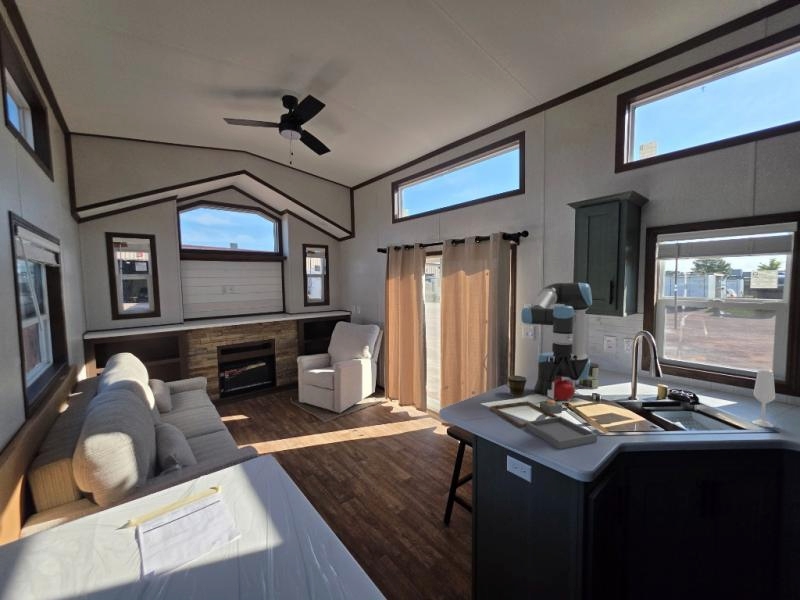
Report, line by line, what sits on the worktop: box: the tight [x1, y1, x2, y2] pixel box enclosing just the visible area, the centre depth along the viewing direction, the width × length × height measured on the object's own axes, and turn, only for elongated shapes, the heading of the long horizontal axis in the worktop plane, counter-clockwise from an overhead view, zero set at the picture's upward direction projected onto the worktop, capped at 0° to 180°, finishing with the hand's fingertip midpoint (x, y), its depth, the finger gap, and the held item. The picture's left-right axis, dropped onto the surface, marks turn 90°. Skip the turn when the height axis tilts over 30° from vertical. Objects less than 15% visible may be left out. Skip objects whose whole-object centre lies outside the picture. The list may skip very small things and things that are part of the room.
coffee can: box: [578, 362, 600, 390], centre depth 203 cm, size 10×10×14 cm
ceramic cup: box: [504, 375, 527, 398], centre depth 186 cm, size 13×10×10 cm
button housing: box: [539, 400, 563, 415], centre depth 164 cm, size 7×7×4 cm
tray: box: [525, 416, 598, 450], centre depth 138 cm, size 19×19×3 cm
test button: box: [546, 398, 556, 405], centre depth 164 cm, size 4×4×4 cm
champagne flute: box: [751, 369, 776, 428], centre depth 149 cm, size 7×7×24 cm
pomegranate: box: [553, 376, 576, 401], centre depth 137 cm, size 10×10×9 cm
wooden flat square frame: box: [489, 400, 559, 429], centre depth 159 cm, size 23×23×2 cm
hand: (560, 395), depth 137 cm, fingers closed on pomegranate, 10 cm apart
